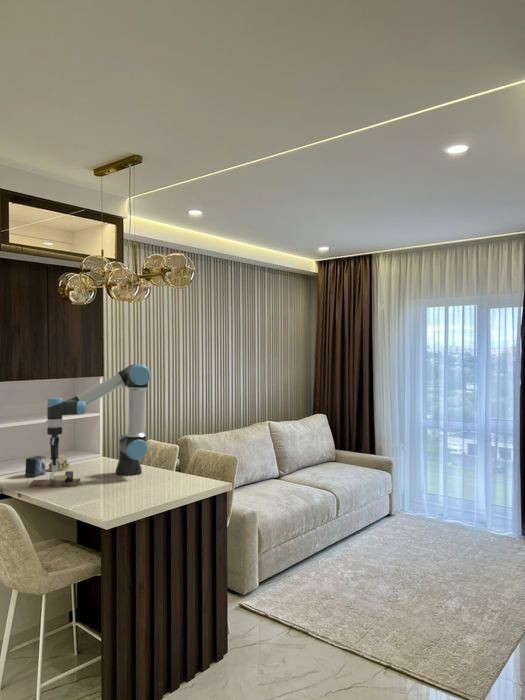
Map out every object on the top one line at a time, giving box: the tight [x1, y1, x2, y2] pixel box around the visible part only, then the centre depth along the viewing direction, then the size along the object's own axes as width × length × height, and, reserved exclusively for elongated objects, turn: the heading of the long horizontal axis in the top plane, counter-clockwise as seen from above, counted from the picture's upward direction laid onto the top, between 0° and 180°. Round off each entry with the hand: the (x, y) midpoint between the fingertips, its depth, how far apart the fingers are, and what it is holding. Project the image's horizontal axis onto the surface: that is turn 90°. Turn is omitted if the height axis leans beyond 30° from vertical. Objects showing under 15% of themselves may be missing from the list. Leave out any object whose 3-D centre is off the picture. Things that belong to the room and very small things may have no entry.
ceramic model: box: [46, 452, 71, 472], centre depth 326 cm, size 14×11×10 cm
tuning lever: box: [49, 470, 74, 482], centre depth 283 cm, size 12×4×5 cm, turn 132°
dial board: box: [27, 478, 81, 488], centre depth 285 cm, size 24×13×2 cm, turn 102°
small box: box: [24, 455, 47, 478], centre depth 307 cm, size 11×6×10 cm, turn 168°
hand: (54, 471), depth 286 cm, fingers closed
